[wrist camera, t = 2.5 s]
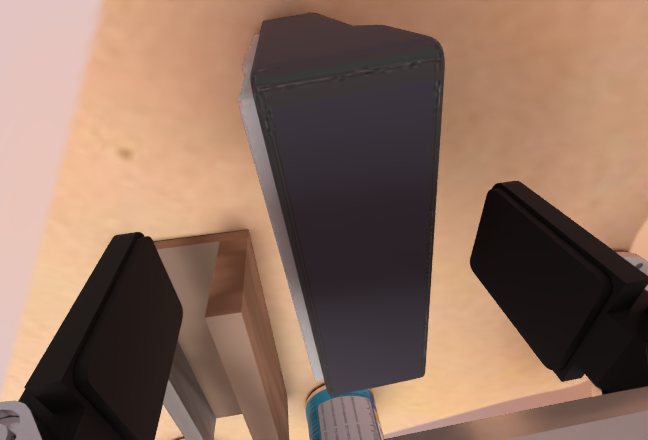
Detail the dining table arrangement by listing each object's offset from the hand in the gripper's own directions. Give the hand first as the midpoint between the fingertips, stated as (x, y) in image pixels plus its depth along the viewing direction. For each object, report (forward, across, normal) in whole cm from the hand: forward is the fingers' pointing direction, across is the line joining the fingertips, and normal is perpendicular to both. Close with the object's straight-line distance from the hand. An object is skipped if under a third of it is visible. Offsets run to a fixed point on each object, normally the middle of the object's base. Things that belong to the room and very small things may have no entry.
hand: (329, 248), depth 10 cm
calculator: (+14, -1, +1) cm, 14 cm away
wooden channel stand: (+14, +9, +21) cm, 26 cm away
